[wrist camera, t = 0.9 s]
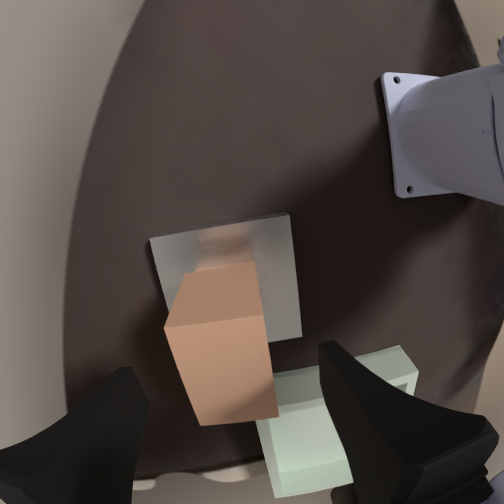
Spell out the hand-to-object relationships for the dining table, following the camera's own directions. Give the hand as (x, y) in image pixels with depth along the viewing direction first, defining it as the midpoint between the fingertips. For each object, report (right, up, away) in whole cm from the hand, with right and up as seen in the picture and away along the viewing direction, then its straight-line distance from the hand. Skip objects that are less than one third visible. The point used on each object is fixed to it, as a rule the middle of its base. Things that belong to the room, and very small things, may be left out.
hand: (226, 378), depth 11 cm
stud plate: (0, +3, +8) cm, 9 cm away
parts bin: (+8, -10, +13) cm, 18 cm away
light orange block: (0, +2, +7) cm, 8 cm away
